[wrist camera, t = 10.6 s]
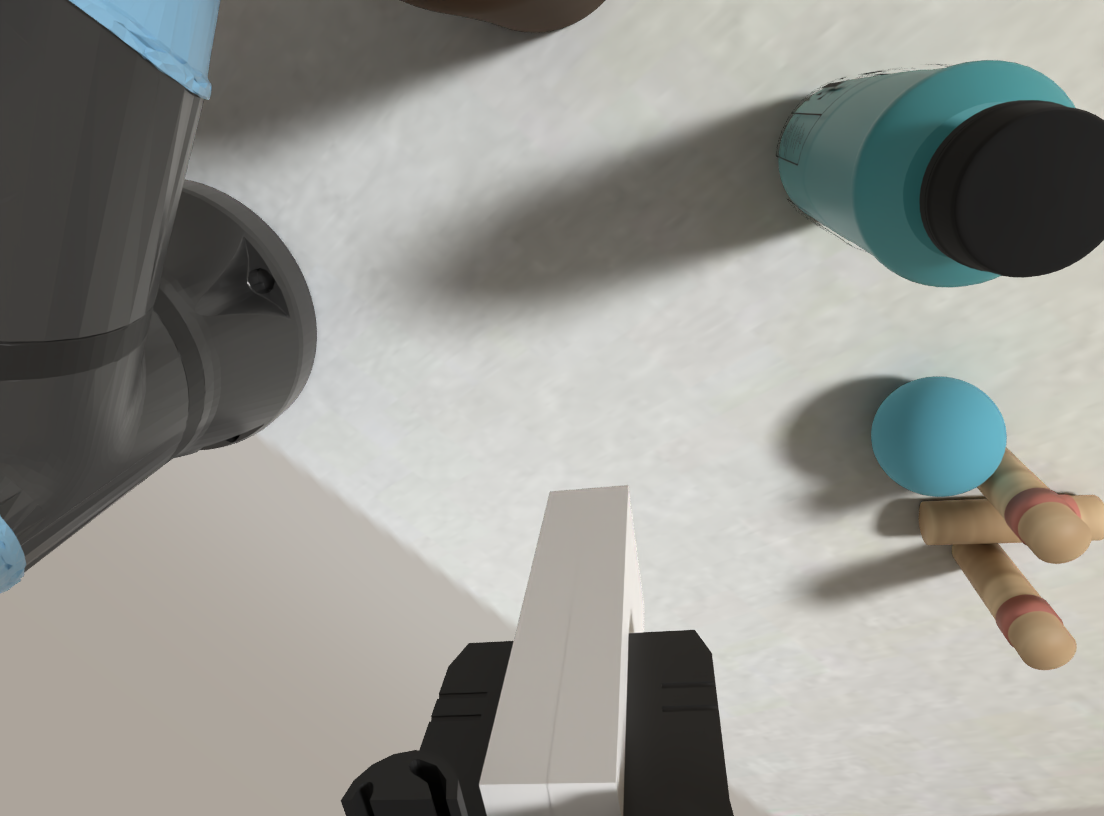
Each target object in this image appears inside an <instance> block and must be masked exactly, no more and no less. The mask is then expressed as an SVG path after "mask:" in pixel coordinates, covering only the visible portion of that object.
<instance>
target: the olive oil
mask: <svg viewBox="0 0 1104 816" xmlns="http://www.w3.org/2000/svg"><path fill="white" fill-rule="evenodd" d="M401 1H403V2H405V3H408V4H411V5H413V6H416V7H420V8H423V9H427V10H431V11H435V12H440V13H445V14H451V15H456V16H462V17H467V18H472V19H477V20H481V21H485V22H490V23H493V24H496V25H498V26H501V27H504V28H508V29H511V30H515V31H521V32H533V33H536V32H548V31H554V30H558V29H561V28H564V27H567V26H570V25H572V24H574V23H576V22H578V21H580V20H582V19H583V18H585V17H586V16H588V15H589V14H591V13H592V12H593V11H594V10H596V9H597V8H598V7H599V6H600V5H601V4H602V3H603V2H604V1H605V0H401Z"/></svg>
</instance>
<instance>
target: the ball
mask: <svg viewBox="0 0 1104 816" xmlns="http://www.w3.org/2000/svg"><path fill="white" fill-rule="evenodd" d="M1006 439H1007V436H1006V427H1005V423H1004V420H1003V417H1002V415H1001V413H1000V411H999V409H998V408H997V406H996V405H995V403H994V402H993V401H992V400H991V399H990V398H989V397H988V396H987V395H986V394H985V393H984V392H983V391H981V390H980V389H978V388H977V387H975V386H973V385H971V384H969V383H967V382H965V381H962V380H959V379H955V378H949V377H926V378H921V379H917V380H914V381H911V382H908V383H906V384H904V385H902V386H901V387H899V388H898V389H896V390H895V391H893V392H892V393H891V394H890V395H889V396H888V397H887V398H886V399H885V400H884V401H883V402H882V404H881V405H880V407H879V408H878V410H877V413H876V415H875V417H874V420H873V424H872V430H871V441H872V447H873V451H874V454H875V457H876V459H877V461H878V463H879V464H880V466H881V467H882V469H883V470H884V471H885V473H886V474H887V475H888V476H889V477H890V478H891V479H892V480H894V481H895V482H896V483H898V484H899V485H901V486H902V487H904V488H906V489H908V490H910V491H912V492H915V493H918V494H922V495H927V496H935V497H945V496H953V495H957V494H961V493H964V492H967V491H970V490H972V489H974V488H976V487H978V486H979V485H981V484H982V483H983V482H985V481H986V480H987V479H988V478H989V477H990V476H991V475H992V474H993V473H994V472H995V470H996V469H997V468H998V466H999V464H1000V462H1001V460H1002V458H1003V455H1004V453H1005V448H1006Z"/></svg>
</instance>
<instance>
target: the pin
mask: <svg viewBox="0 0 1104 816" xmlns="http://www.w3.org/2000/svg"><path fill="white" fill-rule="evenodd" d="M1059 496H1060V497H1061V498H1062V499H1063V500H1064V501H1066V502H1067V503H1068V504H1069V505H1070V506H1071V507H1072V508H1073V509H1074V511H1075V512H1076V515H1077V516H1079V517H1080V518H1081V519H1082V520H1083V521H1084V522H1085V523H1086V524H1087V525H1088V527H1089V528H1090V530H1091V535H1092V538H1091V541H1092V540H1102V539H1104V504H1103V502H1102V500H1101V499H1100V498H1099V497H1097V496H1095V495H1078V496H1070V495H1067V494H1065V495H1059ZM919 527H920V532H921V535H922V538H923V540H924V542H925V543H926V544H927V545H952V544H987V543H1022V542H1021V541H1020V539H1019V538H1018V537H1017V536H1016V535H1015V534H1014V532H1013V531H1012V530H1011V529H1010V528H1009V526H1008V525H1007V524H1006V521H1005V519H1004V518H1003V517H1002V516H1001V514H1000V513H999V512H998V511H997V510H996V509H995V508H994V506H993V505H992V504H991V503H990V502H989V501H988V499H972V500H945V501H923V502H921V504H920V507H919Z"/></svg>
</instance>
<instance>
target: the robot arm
mask: <svg viewBox="0 0 1104 816" xmlns="http://www.w3.org/2000/svg"><path fill="white" fill-rule="evenodd" d="M219 6H220V0H0V593H3V592H5V591H8V590H9V589H10V588H11V587H12V586H14V585H15V584H17V583H18V582H20V581H21V580H20V578H22V577H23V576H24V572H26V571H27V570H28V569H29V568H31V567H32V566H33V565H35V564H36V563H37V562H39V561H40V560H41V559H42V558H44V557H45V556H46V555H48V554H49V553H50V552H51V551H53V550H54V549H55V548H57V547H58V546H59V545H61V544H62V543H63V542H64V541H66V540H67V539H68V538H70V537H71V536H72V535H73V534H75V533H76V532H78V531H79V530H80V529H81V528H83V527H84V526H85V525H87V524H88V523H89V522H91V521H92V520H93V519H94V518H96V517H97V516H98V515H100V514H101V513H102V512H103V511H105V510H106V509H107V508H109V507H110V506H111V505H113V504H114V503H115V502H116V501H118V500H119V499H120V498H122V497H123V496H124V495H126V494H127V493H128V492H130V491H131V490H132V489H134V488H135V487H136V486H137V485H139V484H140V483H141V482H143V481H144V480H145V479H147V478H148V477H149V476H150V475H152V474H153V473H154V472H156V471H157V470H158V469H160V468H161V467H162V466H163V465H165V464H166V463H167V462H169V461H170V460H171V459H173V458H176V457H181V456H185V455H189V454H193V453H195V452H198V451H199V450H208V449H214V448H219V447H224V446H228V445H231V444H235V443H238V442H240V441H243V440H245V439H247V438H249V437H251V436H253V435H255V434H256V433H258V432H259V431H261V430H263V429H264V428H265V427H267V426H268V425H269V424H270V423H272V422H273V421H274V420H275V419H276V418H277V417H279V416H280V415H281V414H282V413H283V412H284V411H285V410H286V409H288V408H289V407H290V405H291V404H292V403H293V402H294V401H295V400H296V398H297V397H298V396H299V394H300V393H301V391H302V390H303V388H304V386H305V384H306V382H307V380H308V378H309V375H310V373H311V370H312V366H313V363H314V358H315V352H316V342H317V327H316V317H315V311H314V306H313V302H312V298H311V295H310V292H309V289H308V286H307V284H306V281H305V279H304V276H303V274H302V272H301V270H300V268H299V266H298V264H297V263H296V261H295V259H294V258H293V256H292V254H291V253H290V251H289V250H288V248H287V247H286V246H285V244H284V243H283V242H282V240H281V239H280V238H279V237H278V236H277V234H276V233H275V232H274V231H273V230H272V229H271V228H270V227H269V226H268V225H267V224H266V223H265V222H264V221H263V220H262V219H261V218H260V217H259V216H258V215H256V214H255V213H254V212H253V211H251V210H250V209H249V208H247V207H246V206H245V205H243V204H242V203H240V202H239V201H237V200H236V199H234V198H232V197H231V196H229V195H227V194H225V193H223V192H221V191H219V190H217V189H214V188H212V187H209V186H207V185H204V184H201V183H197V182H194V181H190V180H185V175H186V171H187V167H188V163H189V159H190V155H191V151H192V147H193V142H194V138H195V134H196V130H197V126H198V122H199V118H200V114H201V110H202V106H203V102H204V99H206V100H209V99H210V95H211V83H210V82H209V80H208V71H209V64H210V57H211V51H212V45H213V40H214V34H215V28H216V23H217V17H218V11H219ZM431 717H432V720H431V722H429V724H428V727H427V730H426V733H425V736H424V739H423V742H422V745H421V747H420V750H419V751H417V750H414V751H409V752H403V753H398V754H393V755H391V756H389V757H387V758H385V759H383V760H381V761H379V762H377V763H375V764H373V765H371V766H370V767H369V768H368V769H367V770H365V771H364V772H363V773H362V774H361V775H360V776H359V777H357V778H356V779H355V780H354V781H353V783H352V784H351V786H350V787H349V789H348V791H347V792H346V794H345V795H344V797H343V798H342V800H341V802H342V805H343V808H344V811H345V814H346V816H734V815H733V811H732V807H731V804H730V800H729V792H728V783H727V775H726V767H725V759H724V750H723V742H722V734H721V726H720V717H719V710H718V701H717V693H716V685H715V676H714V668H713V660H712V653H711V651H710V650H709V649H708V647H707V646H706V645H705V643H704V642H703V641H702V639H701V638H700V636H699V635H698V634H697V632H696V631H695V630H684V631H663V632H644V600H643V593H642V585H641V577H640V570H639V562H638V555H637V547H636V540H635V532H634V525H633V517H632V510H631V502H630V494H629V487H628V485H625V486H612V487H600V488H588V489H576V490H564V491H552V492H550V493H549V497H548V501H547V506H546V510H545V514H544V518H543V522H542V526H541V530H540V534H539V539H538V543H537V547H536V551H535V555H534V559H533V563H532V567H531V572H530V576H529V580H528V584H527V588H526V592H525V596H524V601H523V605H522V609H521V613H520V617H519V621H518V625H517V629H516V634H515V638H514V641H504V642H485V643H469V644H468V645H467V646H466V647H465V648H464V649H463V651H462V652H461V653H460V654H459V655H458V656H457V658H456V659H455V660H454V661H453V662H452V663H451V664H450V666H449V667H448V670H447V672H446V676H445V678H444V681H443V684H442V687H441V690H440V692H439V699H437V701H436V704H435V707H434V710H433V713H432V716H431Z"/></svg>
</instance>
